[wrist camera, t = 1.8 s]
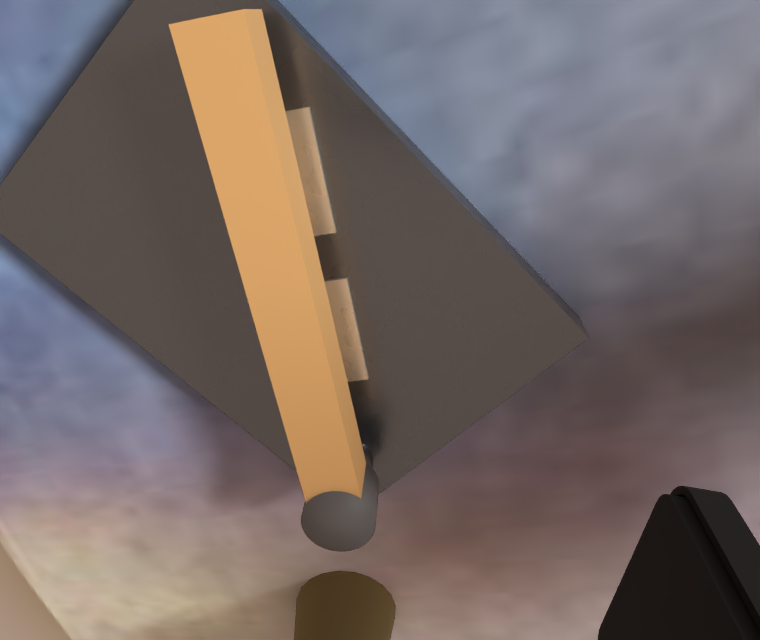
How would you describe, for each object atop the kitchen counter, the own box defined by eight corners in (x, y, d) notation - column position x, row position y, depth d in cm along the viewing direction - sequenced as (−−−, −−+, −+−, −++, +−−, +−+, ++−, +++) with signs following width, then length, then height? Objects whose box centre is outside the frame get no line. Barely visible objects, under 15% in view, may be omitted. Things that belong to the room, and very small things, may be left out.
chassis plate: (579, 317, 30) (597, 353, 27) (354, 488, 35) (347, 536, 32) (208, -73, 24) (175, -85, 21) (5, 203, 29) (-45, 226, 26)
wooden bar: (384, 506, 31) (381, 548, 28) (319, 512, 31) (310, 554, 29) (273, 6, 22) (254, 6, 19) (182, 25, 22) (153, 27, 20)
